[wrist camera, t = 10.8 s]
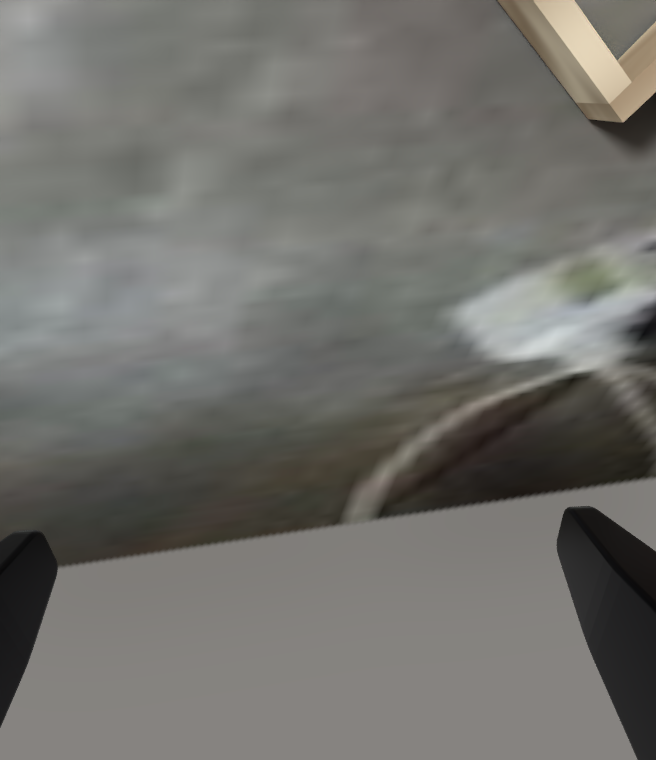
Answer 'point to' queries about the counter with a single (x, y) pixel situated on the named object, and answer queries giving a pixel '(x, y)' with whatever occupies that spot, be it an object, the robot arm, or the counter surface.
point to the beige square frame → (587, 58)
